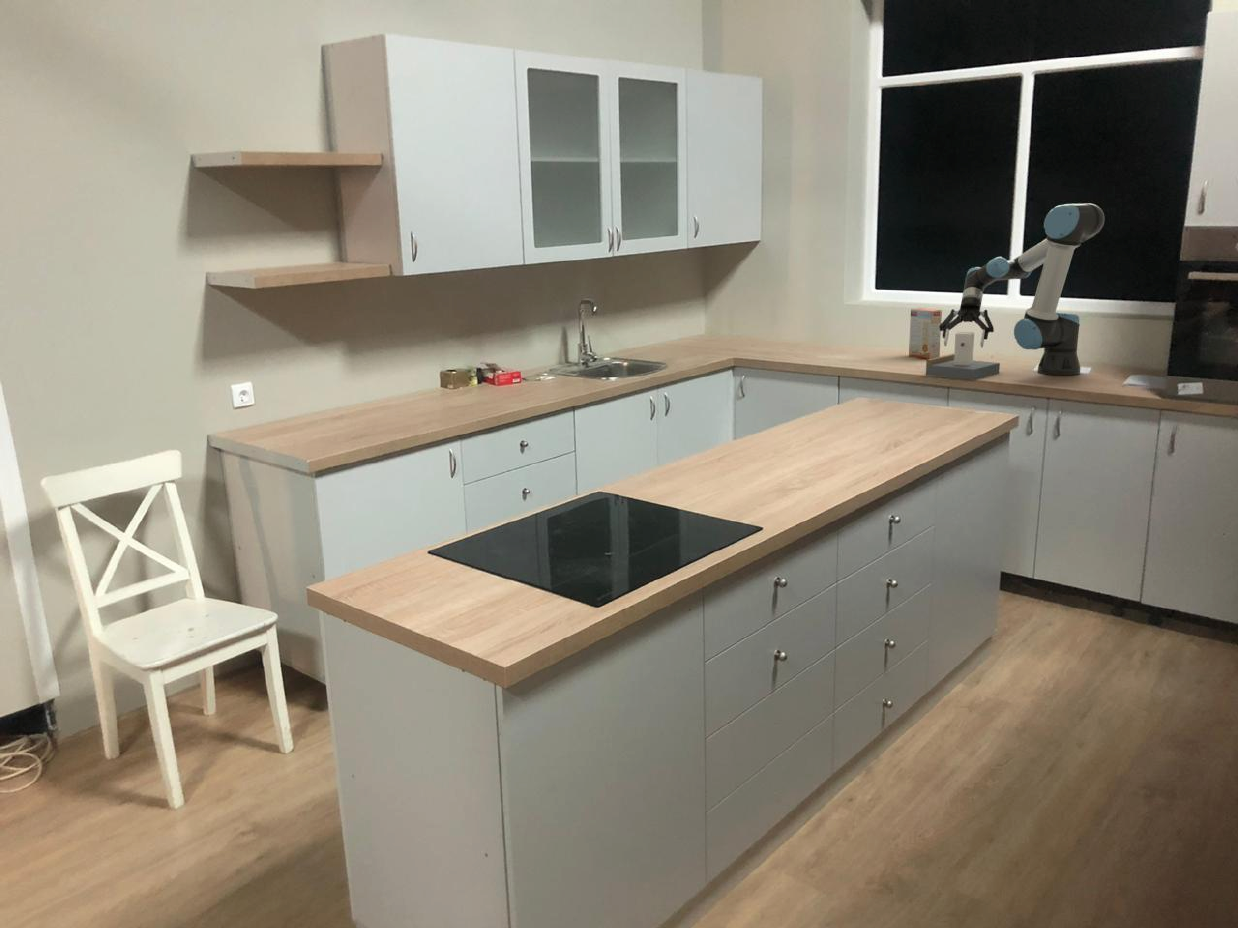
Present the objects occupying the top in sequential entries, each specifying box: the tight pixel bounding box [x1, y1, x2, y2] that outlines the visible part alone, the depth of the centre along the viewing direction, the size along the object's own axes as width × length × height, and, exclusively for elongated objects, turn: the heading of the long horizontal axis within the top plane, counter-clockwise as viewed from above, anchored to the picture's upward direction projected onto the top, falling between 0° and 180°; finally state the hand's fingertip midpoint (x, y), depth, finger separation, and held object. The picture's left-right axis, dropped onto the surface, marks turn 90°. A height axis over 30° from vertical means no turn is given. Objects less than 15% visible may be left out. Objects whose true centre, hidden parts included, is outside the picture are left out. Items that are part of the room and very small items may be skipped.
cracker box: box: [908, 307, 943, 360], centre depth 426 cm, size 14×6×21 cm, turn 22°
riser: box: [925, 353, 1001, 381], centre depth 383 cm, size 20×20×6 cm
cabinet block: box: [953, 331, 975, 365], centre depth 381 cm, size 6×7×12 cm
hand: (963, 344), depth 381 cm, fingers open, 13 cm apart
